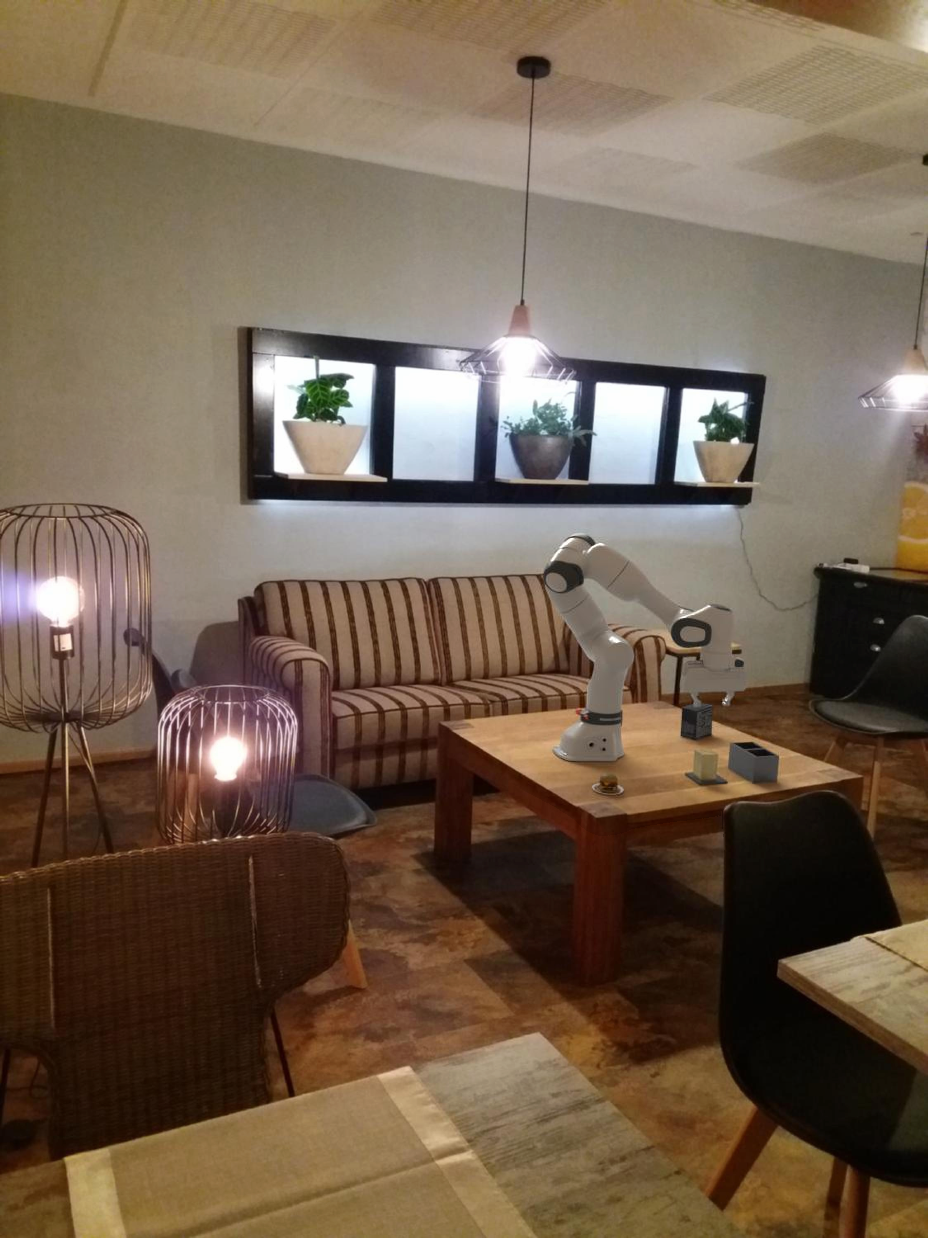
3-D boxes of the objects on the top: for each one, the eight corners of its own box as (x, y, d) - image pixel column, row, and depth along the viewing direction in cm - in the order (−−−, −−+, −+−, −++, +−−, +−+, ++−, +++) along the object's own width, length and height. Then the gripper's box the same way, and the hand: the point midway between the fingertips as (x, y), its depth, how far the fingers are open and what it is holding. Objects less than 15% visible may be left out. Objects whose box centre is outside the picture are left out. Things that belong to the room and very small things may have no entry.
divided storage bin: (752, 783, 278) (755, 757, 277) (727, 767, 292) (730, 742, 290) (776, 781, 280) (779, 755, 279) (751, 766, 294) (753, 741, 292)
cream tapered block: (700, 781, 277) (702, 755, 275) (692, 775, 282) (694, 749, 280) (716, 780, 278) (718, 754, 277) (708, 774, 283) (710, 749, 281)
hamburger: (597, 781, 277) (598, 763, 276) (635, 791, 271) (637, 772, 270) (578, 793, 268) (580, 774, 267) (618, 803, 261) (619, 784, 260)
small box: (695, 730, 331) (698, 701, 329) (712, 734, 326) (714, 705, 324) (679, 736, 323) (681, 706, 321) (695, 740, 319) (697, 710, 317)
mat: (699, 785, 275) (699, 783, 275) (684, 774, 284) (685, 773, 284) (727, 783, 278) (727, 781, 278) (711, 773, 286) (711, 771, 286)
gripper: (688, 663, 270) (684, 710, 273) (752, 661, 276) (747, 707, 278) (677, 658, 276) (674, 704, 279) (740, 657, 282) (736, 702, 284)
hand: (711, 706), depth 278 cm, fingers open, 8 cm apart
